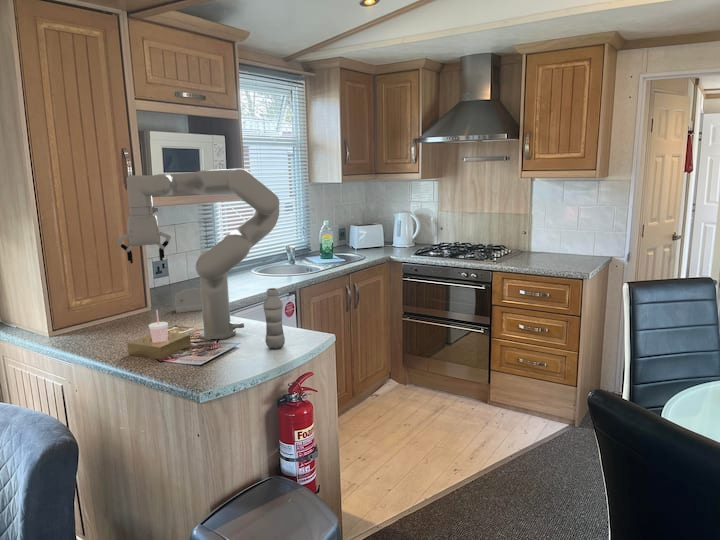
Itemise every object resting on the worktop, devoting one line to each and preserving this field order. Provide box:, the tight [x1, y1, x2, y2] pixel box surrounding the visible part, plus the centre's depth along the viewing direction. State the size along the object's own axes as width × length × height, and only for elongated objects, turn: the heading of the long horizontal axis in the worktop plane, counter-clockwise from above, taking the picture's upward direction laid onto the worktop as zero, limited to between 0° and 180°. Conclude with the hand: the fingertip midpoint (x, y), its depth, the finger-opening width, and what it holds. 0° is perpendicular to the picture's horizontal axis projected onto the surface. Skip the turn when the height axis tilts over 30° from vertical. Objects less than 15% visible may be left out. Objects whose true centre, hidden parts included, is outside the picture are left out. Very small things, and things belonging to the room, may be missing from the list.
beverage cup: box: [148, 309, 169, 343], centre depth 177 cm, size 6×6×14 cm
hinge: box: [174, 287, 202, 314], centre depth 231 cm, size 17×5×10 cm, turn 111°
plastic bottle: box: [263, 287, 286, 349], centre depth 176 cm, size 6×7×20 cm
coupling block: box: [126, 331, 192, 360], centre depth 178 cm, size 14×14×4 cm
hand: (146, 261), depth 183 cm, fingers open, 9 cm apart
